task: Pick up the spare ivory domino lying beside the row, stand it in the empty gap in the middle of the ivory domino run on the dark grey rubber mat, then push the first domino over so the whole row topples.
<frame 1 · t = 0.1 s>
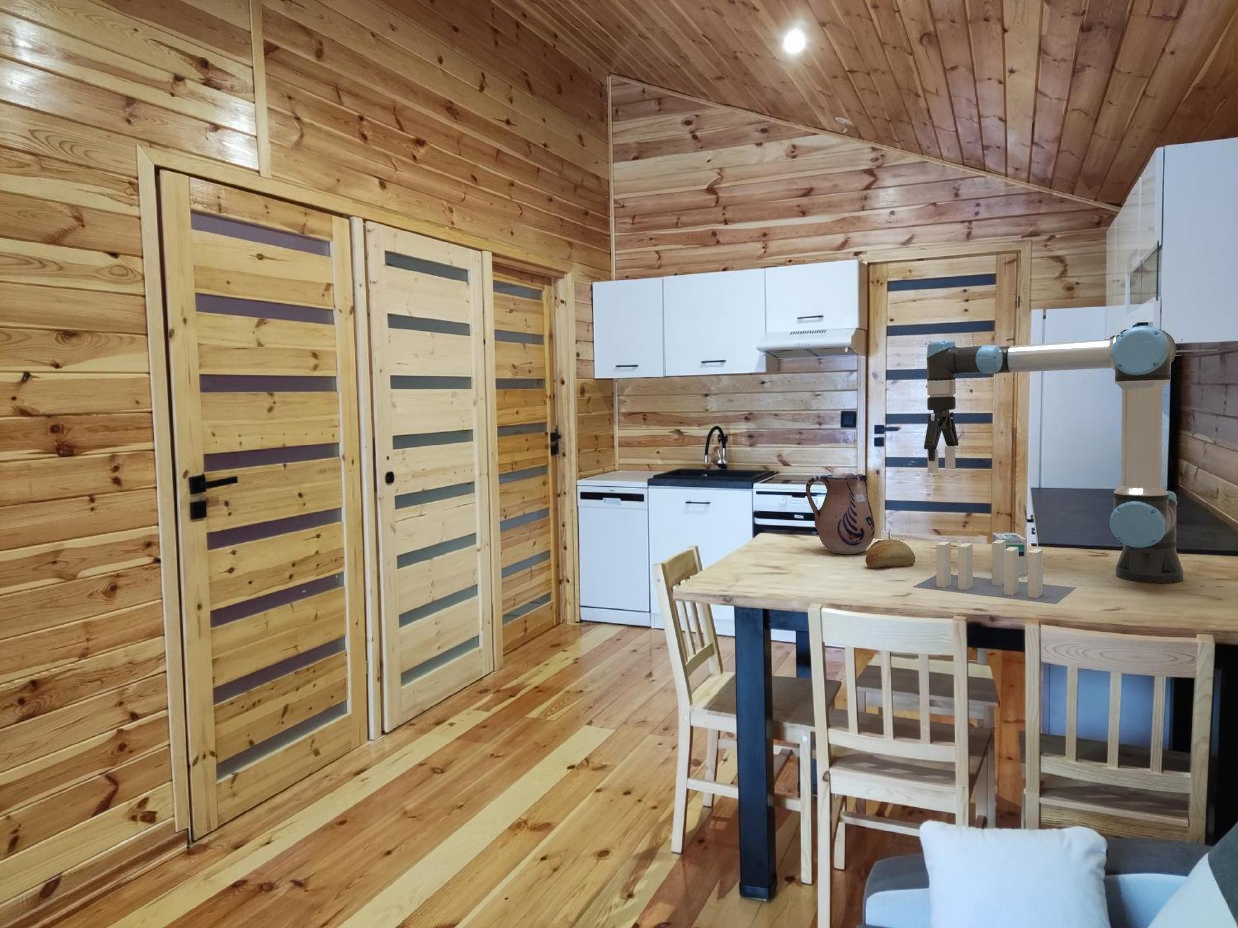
hand: (941, 470, 243), 28 cm above the table, tool pointing down, fingers open, 13 cm apart
domino 3: (999, 583, 220), on the table, touching mat
domino 2: (1011, 592, 210), on the table, touching mat
bread roll: (889, 567, 248), on the table
domino 1: (1035, 595, 206), on the table, touching mat
domino 5: (943, 585, 220), on the table, touching mat
light bulb box: (1009, 574, 233), on the table
mat: (993, 589, 216), on the table
ceramic pitcher: (841, 553, 273), on the table
domino 4: (965, 587, 217), on the table, touching mat
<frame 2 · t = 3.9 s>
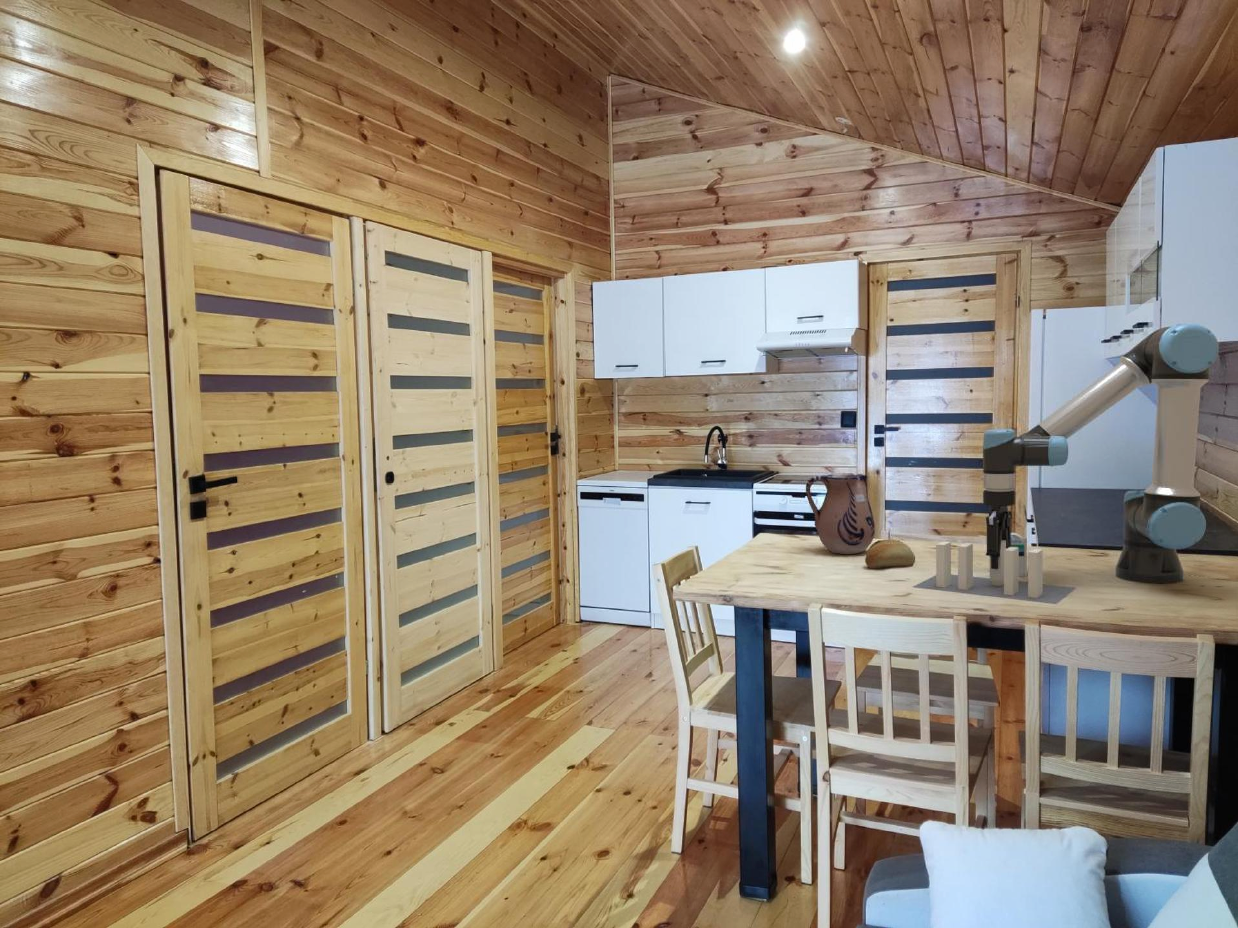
hand: (999, 578, 220), 2 cm above the table, tool pointing down, fingers closed on domino 3, 5 cm apart
domino 3: (999, 583, 220), on the table, touching gripper, mat
everything else where it was.
when the fingers open (3 cm above the table, at t = 11.3 s): domino 3 stays where it is, resting on mat.
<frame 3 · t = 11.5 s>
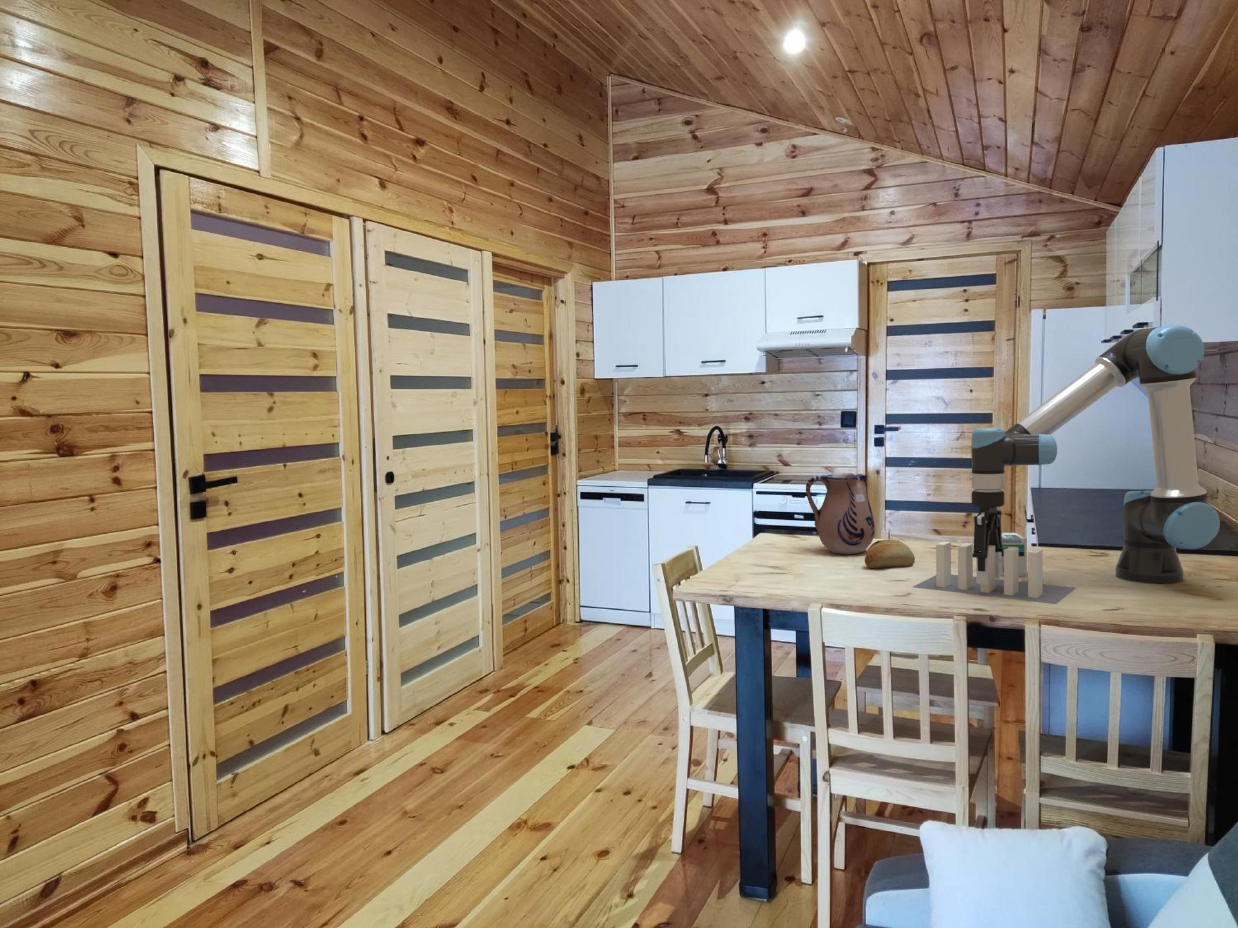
hand: (988, 580, 213), 3 cm above the table, tool pointing down, fingers open, 8 cm apart
domino 3: (987, 590, 213), resting on mat
everything else where it was.
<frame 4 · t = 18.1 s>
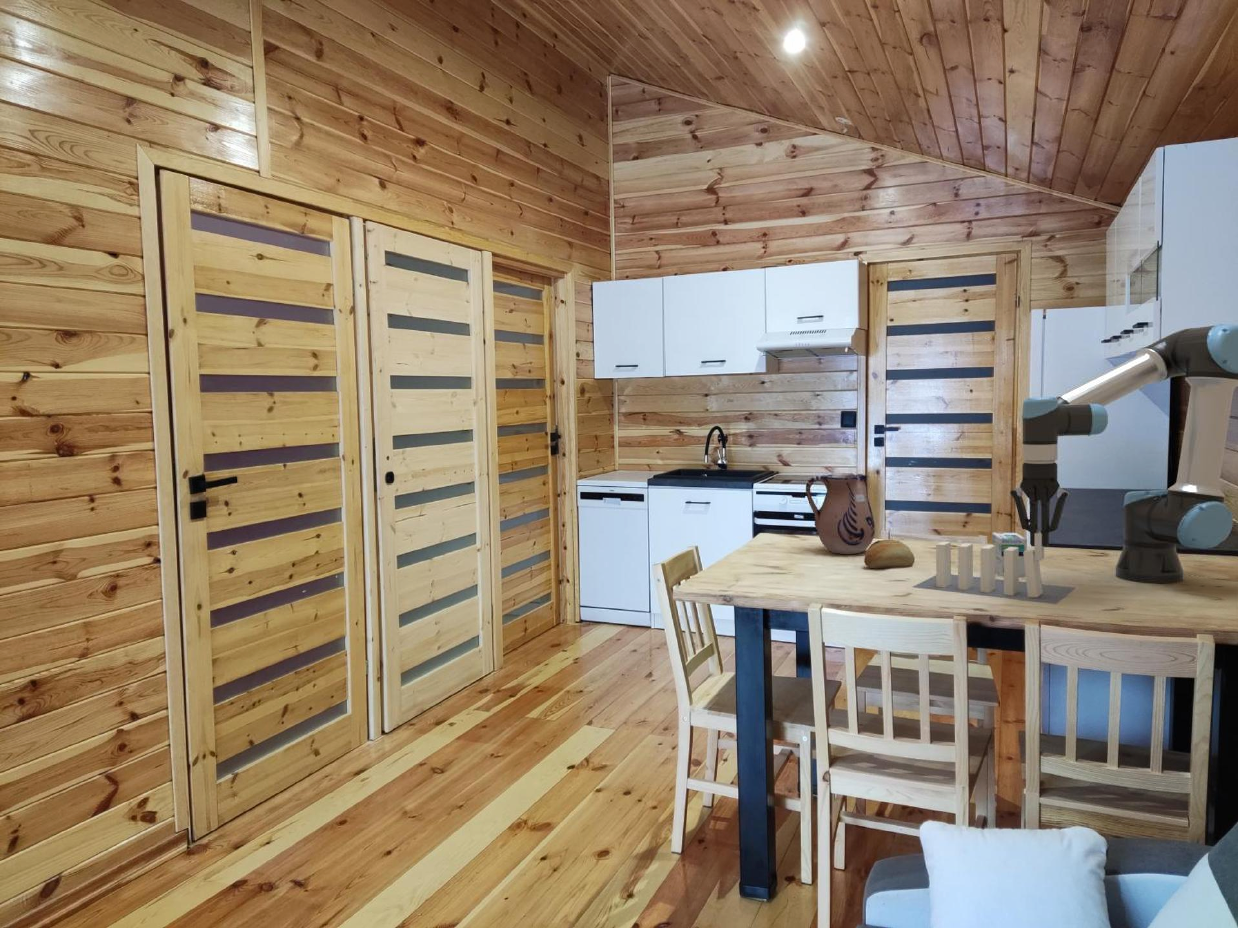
hand: (1039, 559, 205), 9 cm above the table, tool pointing down, fingers closed
domino 1: (1035, 595, 206), point 1 cm above the table, tilted 6°, touching gripper, mat
everything else where it was.
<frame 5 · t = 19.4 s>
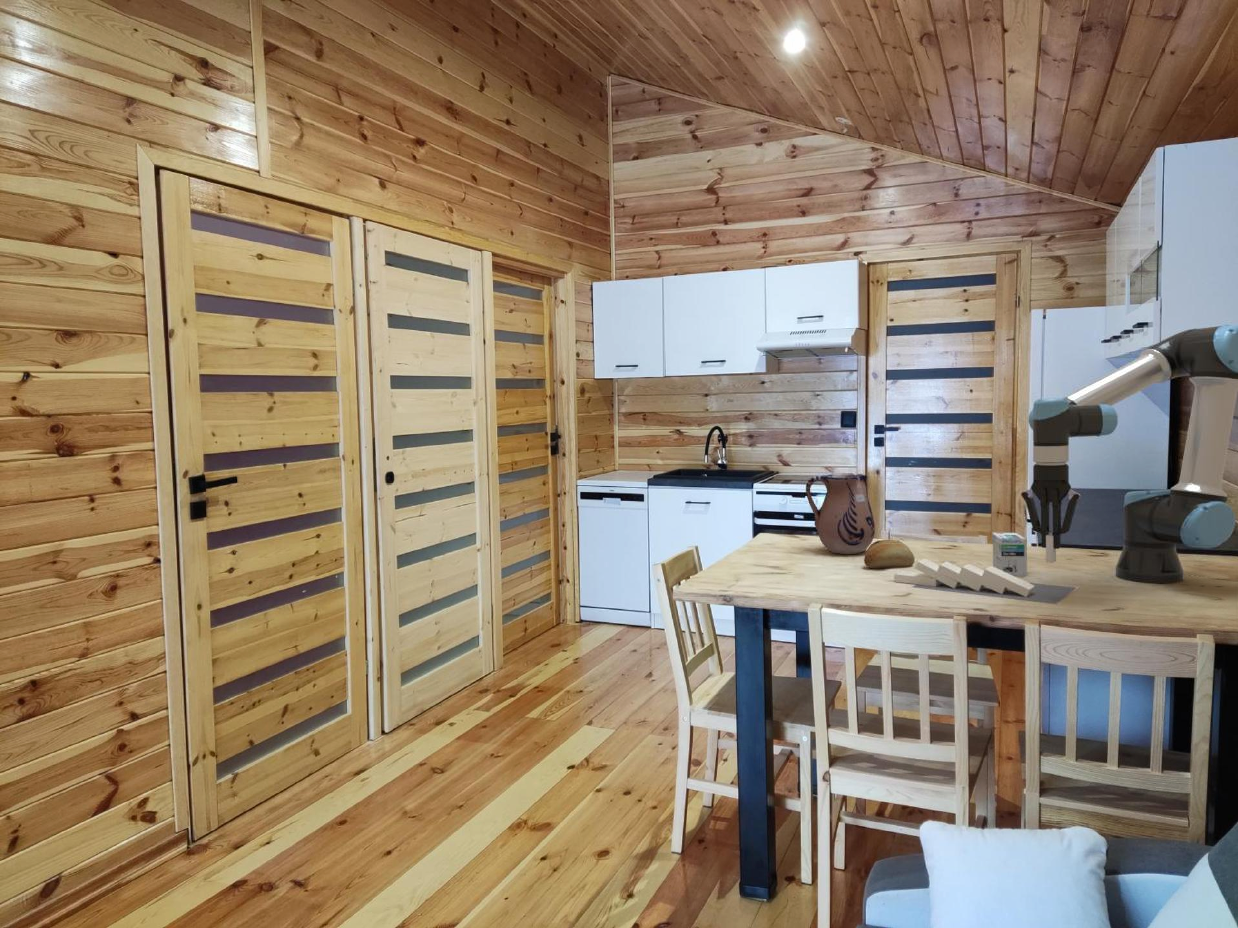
hand: (1051, 561, 203), 9 cm above the table, tool pointing down, fingers closed
domino 3: (983, 586, 214), point 1 cm above the table, tilted 69°, touching domino 2, domino 4
domino 2: (1006, 588, 210), point 1 cm above the table, tilted 69°, touching domino 1, domino 3
domino 1: (1030, 591, 207), point 1 cm above the table, tilted 69°, touching domino 2, mat
domino 5: (939, 580, 221), point 1 cm above the table, tilted 90°, touching domino 4, mat
domino 4: (959, 583, 218), point 1 cm above the table, tilted 67°, touching domino 3, domino 5
everything else where it was.
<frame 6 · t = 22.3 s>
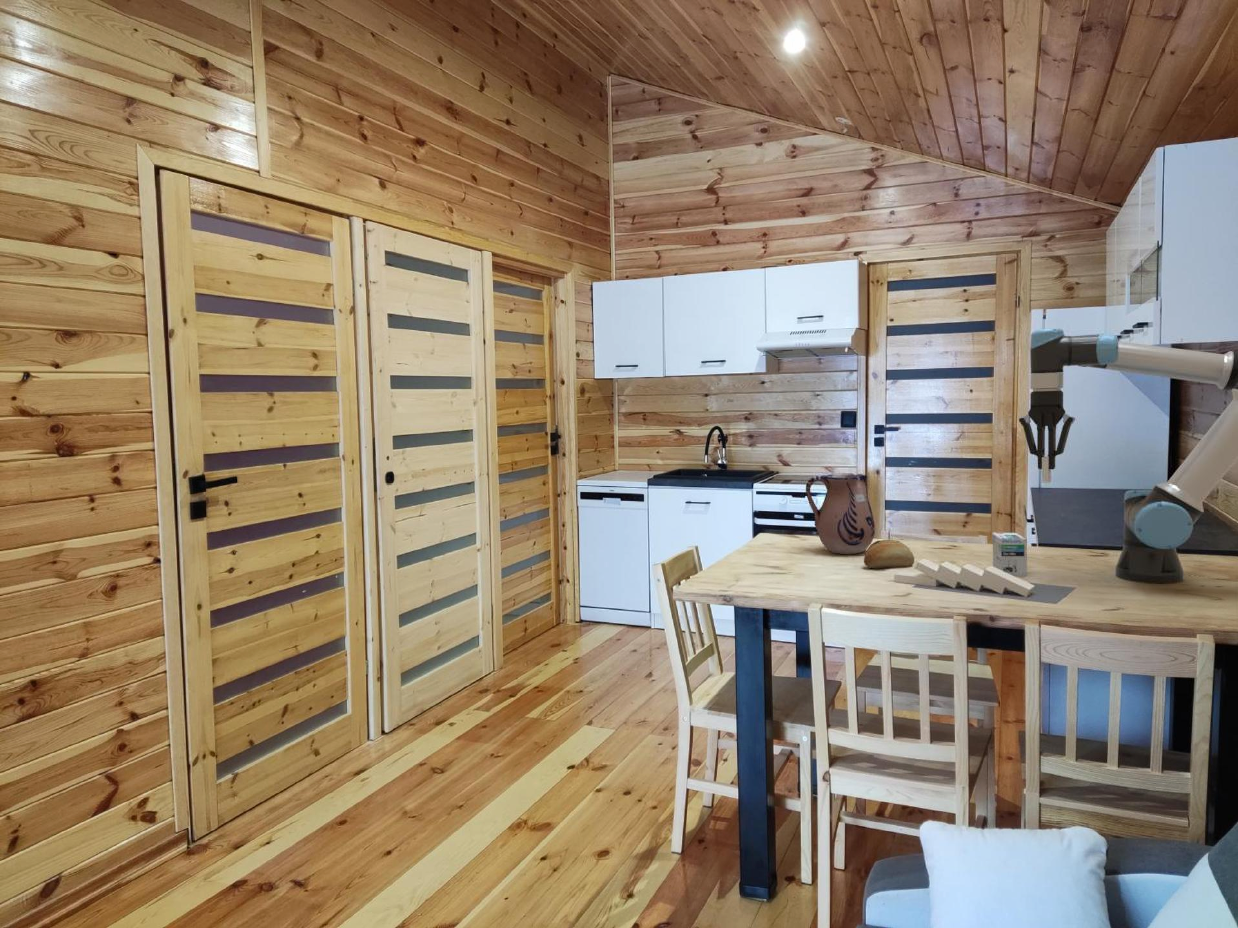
hand: (1046, 481, 219), 26 cm above the table, tool pointing down, fingers closed
domino 3: (982, 585, 214), point 1 cm above the table, tilted 69°, touching domino 2, domino 4, mat
domino 2: (1006, 588, 210), point 1 cm above the table, tilted 69°, touching domino 1, domino 3, mat
everything else where it was.
at the end: domino 3 1.2 cm from the target spot, point 1.4 cm above the table; domino 3 tilted 69°; domino 5 tilted 90° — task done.
